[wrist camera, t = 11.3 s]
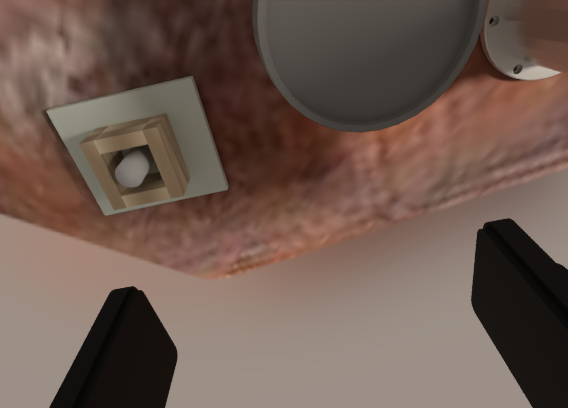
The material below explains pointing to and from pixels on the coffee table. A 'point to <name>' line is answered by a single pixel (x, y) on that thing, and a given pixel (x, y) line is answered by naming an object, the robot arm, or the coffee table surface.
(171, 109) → the post block
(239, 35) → the coffee table surface
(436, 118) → the coffee table surface
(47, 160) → the coffee table surface
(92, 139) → the ring
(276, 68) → the reusable coffee cup
